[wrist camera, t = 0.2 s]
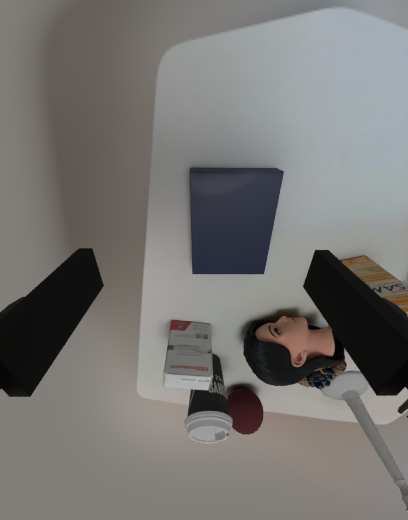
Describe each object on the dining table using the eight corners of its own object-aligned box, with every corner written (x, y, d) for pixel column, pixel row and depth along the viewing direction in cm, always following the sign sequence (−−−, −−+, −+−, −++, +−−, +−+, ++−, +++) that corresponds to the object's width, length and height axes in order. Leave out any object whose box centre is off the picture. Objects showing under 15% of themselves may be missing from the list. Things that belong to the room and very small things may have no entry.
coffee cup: (218, 374, 55) (223, 447, 42) (184, 368, 53) (178, 442, 40) (231, 353, 50) (242, 428, 37) (194, 346, 49) (191, 421, 36)
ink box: (170, 334, 46) (161, 389, 36) (171, 319, 44) (162, 373, 34) (207, 337, 47) (209, 392, 37) (211, 323, 45) (213, 377, 34)
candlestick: (338, 399, 62) (434, 583, 37) (311, 387, 58) (397, 583, 33) (377, 380, 57) (521, 580, 31) (350, 365, 53) (489, 579, 27)
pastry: (345, 349, 50) (361, 373, 45) (320, 376, 56) (332, 400, 51) (304, 343, 48) (316, 366, 43) (283, 371, 54) (291, 395, 49)
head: (345, 306, 33) (232, 344, 37) (379, 379, 33) (260, 409, 37) (320, 291, 45) (236, 321, 49) (344, 344, 44) (257, 370, 49)
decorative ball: (220, 383, 57) (224, 426, 48) (256, 378, 56) (266, 422, 47) (227, 400, 62) (231, 442, 53) (260, 396, 61) (269, 438, 52)
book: (190, 167, 28) (189, 170, 26) (276, 168, 29) (283, 171, 26) (193, 264, 37) (192, 274, 34) (259, 264, 37) (263, 274, 34)
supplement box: (366, 253, 36) (440, 306, 25) (361, 275, 38) (427, 332, 27) (317, 263, 37) (368, 318, 26) (316, 283, 39) (361, 342, 28)
